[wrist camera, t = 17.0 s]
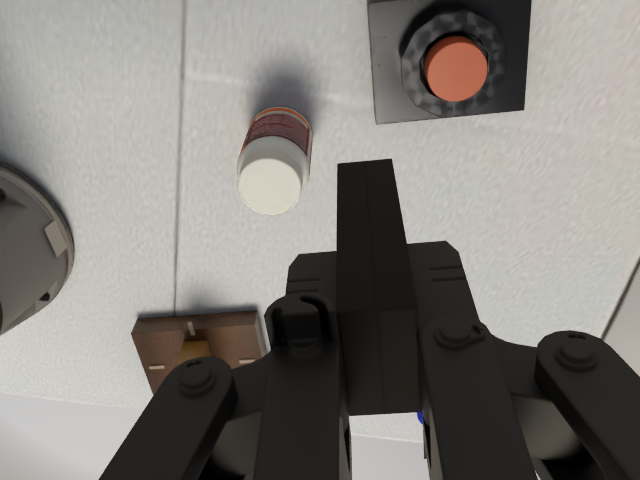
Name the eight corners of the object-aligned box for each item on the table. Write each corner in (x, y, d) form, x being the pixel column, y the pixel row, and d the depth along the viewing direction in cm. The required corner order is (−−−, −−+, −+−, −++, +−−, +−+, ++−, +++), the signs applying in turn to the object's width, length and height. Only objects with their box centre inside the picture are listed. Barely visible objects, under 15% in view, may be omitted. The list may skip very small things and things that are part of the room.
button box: (374, 113, 43) (377, 134, 40) (366, -4, 39) (369, 8, 35) (516, 99, 42) (531, 119, 39) (523, -23, 38) (541, -12, 35)
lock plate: (162, 389, 58) (156, 406, 57) (134, 311, 53) (127, 327, 51) (272, 382, 57) (270, 399, 56) (255, 302, 52) (252, 318, 51)
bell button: (424, 95, 39) (428, 104, 37) (423, 38, 37) (426, 45, 35) (481, 89, 38) (486, 98, 37) (482, 32, 36) (488, 39, 35)
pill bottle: (239, 114, 43) (219, 162, 36) (302, 97, 42) (295, 144, 35) (260, 171, 46) (245, 227, 39) (320, 157, 45) (316, 211, 38)
